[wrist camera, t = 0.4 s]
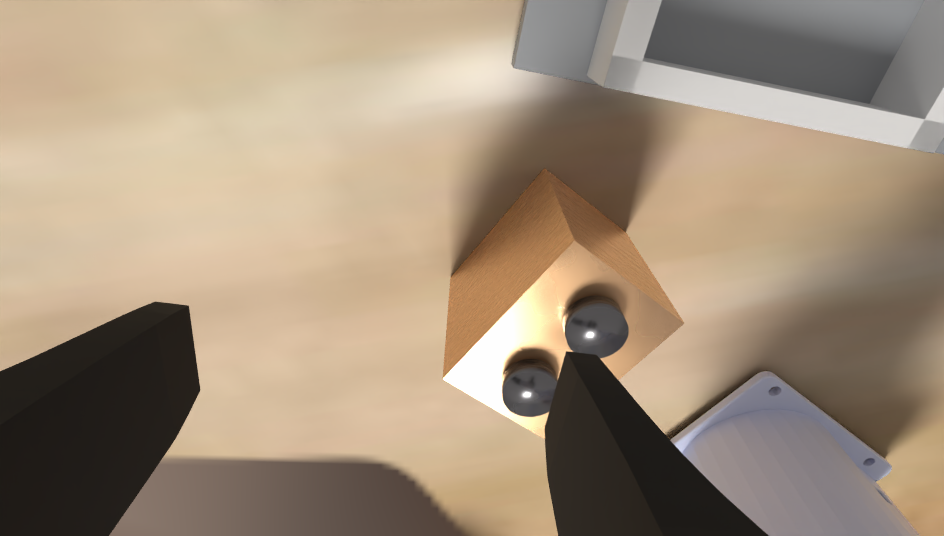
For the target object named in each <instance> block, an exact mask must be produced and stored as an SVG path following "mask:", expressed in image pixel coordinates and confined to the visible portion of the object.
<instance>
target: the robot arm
mask: <svg viewBox="0 0 944 536" xmlns="http://www.w3.org/2000/svg"><path fill="white" fill-rule="evenodd" d="M773 387H774V388H773ZM771 388H773V389H771ZM199 392H200V384H199V377H198V370H197V363H196V355H195V348H194V341H193V334H192V326H191V319H190V312H189V306H187V305H178V304H170V303H162V302H153V303H151V304H148V305H146V306H143V307H141V308H138V309H136V310H134V311H131V312H129V313H127V314H125V315H122V316H120V317H118V318H116V319H114V320H112V321H109V322H107V323H105V324H103V325H101V326H99V327H97V328H94V329H92V330H90V331H88V332H86V333H84V334H82V335H80V336H77V337H75V338H73V339H71V340H69V341H67V342H65V343H62V344H60V345H58V346H56V347H54V348H52V349H49V350H47V351H45V352H43V353H41V354H39V355H37V356H34V357H32V358H30V359H28V360H26V361H23V362H21V363H19V364H16V365H14V366H12V367H9V368H7V369H5V370H2V371H0V536H109V535H110V533H111V532H112V530H113V529H114V528H115V526H116V525H117V523H118V522H119V520H120V519H121V517H122V516H123V514H124V513H125V512H126V510H127V509H128V507H129V506H130V504H131V503H132V502H133V500H134V499H135V497H136V496H137V494H138V493H139V491H140V490H141V489H142V487H143V486H144V484H145V483H146V481H147V480H148V478H149V477H150V476H151V474H152V472H153V471H154V470H155V468H156V467H157V465H158V464H159V462H160V461H161V459H162V458H163V457H164V455H165V454H166V452H167V451H168V449H169V448H170V446H171V445H172V443H173V442H174V440H175V439H176V437H177V435H178V433H179V431H180V429H181V427H182V426H183V424H184V422H185V420H186V418H187V416H188V414H189V412H190V410H191V408H192V406H193V404H194V402H195V400H196V398H197V396H198V394H199ZM544 429H545V447H546V462H547V476H548V482H549V488H550V493H551V499H552V504H553V510H554V515H555V520H556V526H557V531H558V536H920V535H919V533H918V532H917V531H916V530H915V529H914V527H913V526H912V525H911V524H910V523H909V521H908V520H907V519H906V518H905V517H904V515H903V514H902V513H901V512H900V510H899V509H898V508H897V507H896V506H895V504H894V503H893V502H892V501H891V500H890V498H889V497H888V496H887V495H886V494H885V492H884V491H883V490H882V489H881V487H880V486H879V485H878V484H877V483H876V481H878V480H880V479H881V478H883V477H885V476H886V475H888V474H889V473H890V472H891V470H892V466H891V465H890V464H889V463H888V461H887V460H886V459H885V458H883V457H882V456H881V455H879V454H878V453H877V452H875V451H874V450H873V449H872V448H870V447H869V446H868V445H866V444H865V443H864V442H862V441H861V440H860V439H859V438H857V437H856V436H855V435H853V434H852V433H851V432H849V431H848V430H847V429H846V428H844V427H843V426H842V425H840V424H839V423H838V422H836V421H835V420H834V419H833V418H831V417H830V416H829V415H827V414H826V413H825V412H823V411H822V410H821V409H819V408H818V407H817V406H816V405H814V404H813V403H812V402H810V401H809V400H808V399H806V398H805V397H804V396H803V395H801V394H800V393H799V392H797V391H796V390H795V389H793V388H792V387H791V386H790V385H788V384H787V383H786V382H784V381H783V380H782V379H780V378H779V377H778V376H777V375H775V374H774V373H772V372H770V371H763V372H760V373H758V374H756V375H755V376H753V377H752V378H751V379H749V380H748V381H747V382H746V383H744V384H743V385H742V386H740V387H739V388H738V389H736V390H735V391H734V392H732V393H731V394H730V395H728V396H727V397H726V398H724V399H723V400H722V401H721V402H719V403H718V404H717V405H715V406H714V407H713V408H711V409H710V410H709V411H707V412H706V413H705V414H703V415H702V416H701V417H699V418H698V419H697V420H696V421H694V422H693V423H692V424H690V425H689V426H688V427H686V428H685V429H684V430H682V431H681V432H680V433H678V434H677V435H676V436H674V437H673V438H672V439H671V440H669V439H668V437H667V436H666V435H665V434H664V433H663V432H662V431H661V430H660V429H659V427H658V426H657V425H656V424H655V423H654V422H653V421H652V420H651V418H650V417H649V416H648V415H647V414H646V413H645V411H644V410H643V409H642V408H641V407H640V406H639V404H638V403H637V402H636V401H635V400H634V399H633V397H632V396H631V395H630V394H629V393H628V391H627V390H626V389H625V388H624V387H623V385H622V384H621V383H620V382H619V381H618V379H617V378H616V377H615V376H614V375H613V373H612V372H611V371H610V370H609V369H608V367H607V366H606V365H605V364H604V363H603V361H602V360H601V359H600V358H599V357H598V356H597V355H594V354H586V353H577V352H569V351H566V353H565V357H564V360H563V364H562V367H561V371H560V375H559V378H558V382H557V385H556V389H555V392H554V396H553V400H552V403H551V407H550V410H549V414H548V417H547V421H546V425H545V428H544Z"/></svg>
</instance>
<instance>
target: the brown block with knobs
mask: <svg viewBox="0 0 944 536" xmlns="http://www.w3.org/2000/svg"><path fill="white" fill-rule="evenodd" d="M683 324H684V322H683V320H682V319H681V317H680V316H679V314H678V313H677V311H676V309H675V308H674V306H673V305H672V303H671V302H670V300H669V299H668V297H667V296H666V294H665V292H664V291H663V289H662V288H661V286H660V285H659V283H658V282H657V280H656V278H655V277H654V275H653V274H652V272H651V271H650V269H649V268H648V266H647V264H646V263H645V261H644V260H643V258H642V257H641V255H640V254H639V252H638V250H637V249H636V247H635V246H634V244H633V243H632V241H631V240H630V238H629V237H628V235H627V233H626V232H625V231H624V230H622V229H621V228H620V227H619V226H617V225H616V224H615V223H613V222H612V221H611V220H610V219H608V218H607V217H606V216H605V215H603V214H602V213H601V212H600V211H598V210H597V209H596V208H594V207H593V206H592V205H591V204H589V203H588V202H587V201H586V200H584V199H583V198H582V197H581V196H579V195H578V194H577V193H575V192H574V191H573V190H572V189H570V188H569V187H568V186H567V185H565V184H564V183H563V182H562V181H560V180H559V179H558V178H556V177H555V176H554V175H553V174H551V173H550V172H549V171H548V170H546V169H545V168H544V169H543V170H542V172H541V173H540V174H539V175H538V176H537V177H536V179H535V180H534V181H533V182H532V183H531V184H530V186H529V187H528V188H527V189H526V190H525V191H524V192H523V194H522V195H521V196H520V197H519V198H518V199H517V201H516V202H515V203H514V204H513V205H512V206H511V208H510V209H509V210H508V211H507V212H506V213H505V215H504V216H503V217H502V218H501V219H500V220H499V222H498V223H497V224H496V225H495V226H494V227H493V229H492V230H491V231H490V232H489V233H488V234H487V236H486V237H485V238H484V239H483V240H482V241H481V243H480V244H479V245H478V246H477V247H476V248H475V250H474V251H473V252H472V253H471V254H470V255H469V257H468V258H467V259H466V260H465V261H464V262H463V264H462V265H461V266H460V267H459V268H458V269H457V270H456V272H455V273H454V274H453V275H452V276H451V279H450V292H449V305H448V318H447V331H446V344H445V357H444V370H443V379H444V380H445V381H447V382H449V383H450V384H452V385H454V386H455V387H457V388H459V389H461V390H462V391H464V392H466V393H467V394H469V395H471V396H472V397H474V398H476V399H478V400H479V401H481V402H483V403H484V404H486V405H488V406H489V407H491V408H493V409H495V410H496V411H498V412H500V413H501V414H503V415H505V416H506V417H508V418H510V419H512V420H513V421H515V422H517V423H518V424H520V425H522V426H523V427H525V428H527V429H528V430H530V431H532V432H534V433H535V434H537V435H539V436H540V437H542V438H544V439H545V429H544V428H545V425H546V421H547V417H548V414H549V410H550V407H551V403H552V400H553V396H554V392H555V389H556V385H557V382H558V378H559V375H560V371H561V367H562V364H563V360H564V357H565V353H566V351H569V352H577V353H586V354H594V355H597V356H598V357H599V358H600V359H601V360H602V361H603V363H604V364H605V365H606V366H607V367H608V369H609V370H610V371H611V372H612V373H613V375H614V376H615V377H616V378H617V379H618V380H619V379H620V378H621V377H623V376H624V375H625V374H626V373H627V372H628V371H630V370H631V369H632V368H633V367H634V366H635V365H637V364H638V363H639V362H640V361H641V360H642V359H643V358H645V357H646V356H647V355H648V354H649V353H650V352H652V351H653V350H654V349H655V348H656V347H657V346H659V345H660V344H661V343H662V342H663V341H664V340H666V339H667V338H668V337H669V336H670V335H671V334H672V333H674V332H675V331H676V330H677V329H678V328H679V327H681V326H682V325H683Z"/></svg>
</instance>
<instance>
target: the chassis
mask: <svg viewBox="0 0 944 536" xmlns="http://www.w3.org/2000/svg"><path fill="white" fill-rule="evenodd" d="M512 66H513V68H516V69H521V70H526V71H531V72H536V73H541V74H546V75H551V76H556V77H561V78H566V79H571V80H575V81H580V82H585V83H590V84H595V85H600V86H602V87H604V88H609V89H614V90H619V91H624V92H629V93H634V94H639V95H644V96H649V97H654V98H659V99H664V100H669V101H674V102H679V103H684V104H689V105H694V106H699V107H704V108H709V109H714V110H719V111H724V112H729V113H734V114H739V115H744V116H749V117H754V118H759V119H764V120H769V121H774V122H779V123H784V124H789V125H794V126H799V127H804V128H809V129H814V130H819V131H824V132H829V133H834V134H839V135H844V136H849V137H854V138H859V139H864V140H869V141H874V142H879V143H884V144H889V145H894V146H899V147H904V148H909V149H914V150H919V151H924V152H929V153H934V152H935V153H940V154H944V0H525V2H524V7H523V11H522V16H521V21H520V26H519V31H518V35H517V40H516V45H515V50H514V55H513V59H512Z"/></svg>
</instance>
